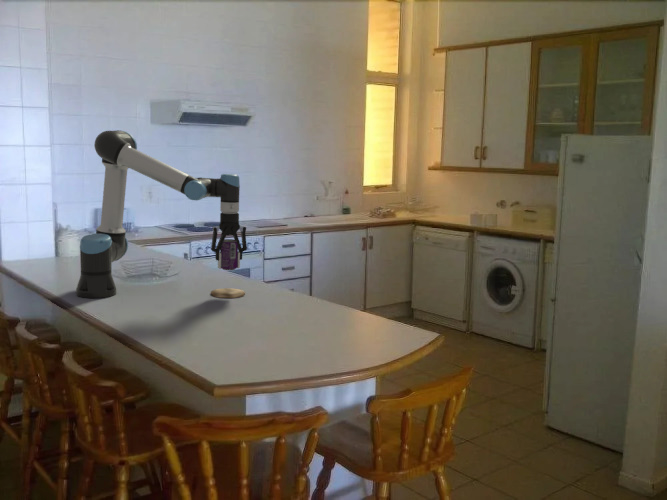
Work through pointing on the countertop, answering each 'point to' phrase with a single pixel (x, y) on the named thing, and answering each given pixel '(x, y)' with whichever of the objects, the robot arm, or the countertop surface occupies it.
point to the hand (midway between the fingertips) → (228, 267)
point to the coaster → (227, 293)
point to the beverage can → (229, 254)
